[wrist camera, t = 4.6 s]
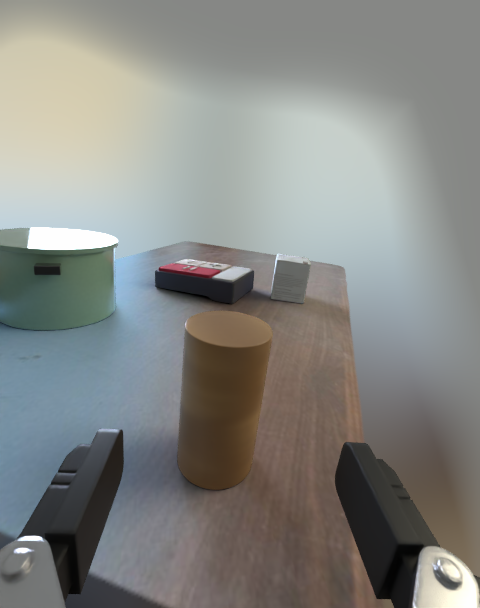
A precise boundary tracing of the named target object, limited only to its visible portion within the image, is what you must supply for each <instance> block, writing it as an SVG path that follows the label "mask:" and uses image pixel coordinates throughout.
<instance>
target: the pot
mask: <svg viewBox="0 0 480 608" xmlns="http://www.w3.org/2000/svg"><path fill="white" fill-rule="evenodd" d="M117 246H118V240H117V239H116V238H115V237H112V236H110V235H105V234H101V233H97V232H90V231H83V230H82V231H81V230H72V229H55V228H17V229H4V230H0V322H2V323H3V324H6V325H8V326H11V327H15V328H20V329H28V330H61V329H70V328H76V327H81V326H86V325H90V324H93V323H96V322H99V321H101V320H103V319H105V318H107V317H109V316H110V315H111V314H113V312H114V311H115V309H116V287H115V248H116V247H117Z"/></svg>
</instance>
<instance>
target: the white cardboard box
mask: <svg viewBox="0 0 480 608" xmlns="http://www.w3.org/2000/svg"><path fill="white" fill-rule="evenodd" d="M310 267H311V264H310V261H309V259H308V258H303V257H297V256H290V255H284V254H277V257H276V263H275V270H274V277H273V283H272V293H271V299H274V300H281V301H288V302H295V303H302V304H303V303H304V298H305V293H306V288H307V283H308V278H309V272H310Z"/></svg>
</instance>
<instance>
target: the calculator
mask: <svg viewBox="0 0 480 608" xmlns="http://www.w3.org/2000/svg"><path fill="white" fill-rule="evenodd" d="M253 280H254V271H252V270H251V269H248V268H241V267H232V268H231V265H226V264H219V263H212V262H209V263H207V262H205V261H197V260H190V259H185V260H182V261H178V262H175V264H174V263H172V264H168V265H165V266H162V267H159V270H156V271H155V286H156V287H159V288H165V289H171V290H176V291H182V292H188V293H193V294H199V295H205V296H208V297H209V298H210V299H212V300H214V301H219V302H225V303H231V304H232V303H234V302H236V301H237V300H238V299H240V298H241V297H242V296H244V295H245V294H246V293H248V292H249V291H250V290H252V289H253Z"/></svg>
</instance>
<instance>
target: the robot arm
mask: <svg viewBox="0 0 480 608" xmlns="http://www.w3.org/2000/svg"><path fill="white" fill-rule="evenodd" d="M123 465H124V457H123V431H122V430H118V429H99V430H98V431H97V433H96V435H95V437H94V439H93V441H92V443H91V444H80V445H79V446H77V447H76V448H75V449H74V450H73V451H72V452H71V453H69V454H68V455H67V456H66V458H65V460H64V461H63V463H62V465H61V466H60V468H59V470H58V473H56V475H55V476H54V478H53V480H52V482H51V485H49V487H48V488H47V490H46V492H45V493H44V495H43V497H42V498H41V500H40V502H39V504H38V505H37V507H36V509H35V510H34V512H33V514H32V515H31V517H30V519H29V520H28V522H27V524H26V525H25V527H24V529H23V531H22V532H21V534H20V535H19V537H18V538H17V539H16V540H15V541H13V542H11V543H9V544H7V545H6V546H5V547H3V548H2V549H1V550H0V608H66V606H65V601H66V598H67V596H68V594H81V591H82V588H83V586H84V583H85V580H86V577H87V574H88V572H89V569H90V566H91V563H92V560H93V557H94V555H95V552H96V549H97V546H98V543H99V541H100V538H101V535H102V532H103V529H104V527H105V524H106V521H107V518H108V515H109V512H110V510H111V507H112V504H113V501H114V498H115V496H116V493H117V490H118V487H119V484H120V481H121V477H122V473H123ZM335 485H336V490H337V493H338V496H339V499H340V502H341V504H342V507H343V510H344V512H345V515H346V518H347V520H348V523H349V526H350V528H351V531H352V534H353V536H354V539H355V542H356V544H357V547H358V550H359V552H360V555H361V558H362V560H363V563H364V566H365V568H366V571H367V574H368V577H369V579H370V582H371V585H372V587H373V590H374V593H375V595H376V598H377V599H391V601H392V603H393V605H394V608H480V577H477V576H475V575H473V574H472V572H471V571H470V570H469V569H468V568H467V566H466V565H465V564H464V563H463V562H462V561H461V560H460V559H459V558H457V557H456V556H455V555H454V554H452V553H450V552H449V551H447V550H445V549H442V548H441V547H440V545H439V544H438V542H437V541H436V539H435V537H434V536H433V534H432V532H431V531H430V529H429V527H428V526H427V524H426V522H425V521H424V519H423V518H422V516H421V514H420V512H419V511H418V510H417V508H416V506H415V504H414V503H413V501H412V500H410V496H409V494H408V493H407V491H406V489H405V488H403V484H402V483H401V481H400V480H399V478H398V476H397V474H396V473H395V471H394V470H393V469H392V468H390V467H389V466H388V465H387V464H386V463H385V462H384V461H383V460H382V459H376V457H375V456H374V454H373V452H372V450H371V449H370V447H369V446H368V444H366V443H353V442H345V443H344V445H343V448H342V451H341V455H340V459H339V462H338V466H337V470H336V474H335Z"/></svg>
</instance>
